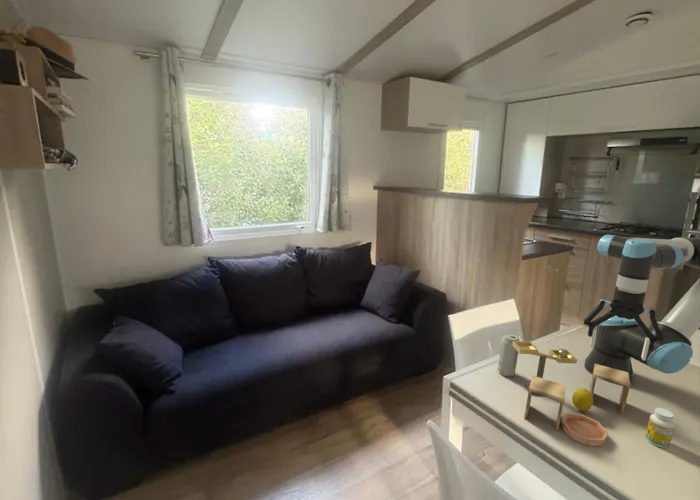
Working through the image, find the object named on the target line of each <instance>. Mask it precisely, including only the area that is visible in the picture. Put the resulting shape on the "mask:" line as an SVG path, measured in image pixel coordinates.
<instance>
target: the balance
mask: <svg viewBox="0 0 700 500" xmlns="http://www.w3.org/2000/svg"><path fill="white" fill-rule="evenodd" d="M512 345H513V346H514V348H515V349H516V350H517V351H518V355H532V356H537V357H539V359H538V364H537V365H538V366H537V372H536V377H540V378H543V379H544V374H545V373H544V372H545V367H546V361H547V359H549V360H553V361H556V363H559V364H577V363H578V358H576V357H575V356H574V355H573V354H572V353H571V352H570V351H569V350H567V349H565V348H559V349H549V352H548V354H547V353H542V352H539V349H538V348H537V347H536V346H535V345H534V344H533V343H532V341H525V340H523V341H522V340H519V341H513V343H512ZM530 383H531V382H524V383H523V386H524V387H525V389H526V391H527V392H529V387H530ZM532 395H537V396H538V395H540V396H543V395H542V394H539V393H536V392H533V391H532Z"/></svg>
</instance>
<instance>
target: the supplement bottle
mask: <svg viewBox="0 0 700 500" xmlns="http://www.w3.org/2000/svg"><path fill="white" fill-rule="evenodd" d="M674 416H675V415H674V414H673V412H671V411H670V410H668V409H666V408H663V407H656V408H655V409H654V412H653V413H652V414H651V415H650V416H649V419H648V423H647V427H646V431H645V435H644V436H645V438H646V440H647V441H648V442H649V443H650V444H652V445H653V446H655V447H659V448H662V449H665V448H669V447H670V444H671V440H672V436H673V433H674V430H675V422H674V421H673V420H674Z"/></svg>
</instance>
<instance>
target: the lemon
mask: <svg viewBox="0 0 700 500" xmlns="http://www.w3.org/2000/svg"><path fill="white" fill-rule="evenodd" d="M571 400H572V404H573V406H574V407H575V408H576V409H577V410H579V411H580V412H587V411H590V410H591V409H592V407H593V405H594V395H593V396H592V394H591V393H590V392H589V389H586V388H585V387H584V388H583V387H581V388H577V389H575V391H574V392H573V395H572V399H571Z"/></svg>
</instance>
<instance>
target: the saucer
mask: <svg viewBox="0 0 700 500" xmlns="http://www.w3.org/2000/svg"><path fill="white" fill-rule="evenodd" d="M560 423H561V424H560V425H561V429H562V430H563V432H564V434H566V435H567V436H568V437H569V438H570V439H571V440H572V441H573V440H574V441H575V442H577V443H579V444H581V445H584V446H586V447H591V448H592V447H593V448H598V447H602V446H604V445H605V444H606V442H607V438H608V435H609V432H608V431H607V430H606V428H605V427H604V426H603V425H602V423H600V421H598V420H596V419H593V418H591V417H589V416H587V415H585V414H582V413H569V412H568V413H566V414H565V415H564V416H563V418H561V420H560Z"/></svg>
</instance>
